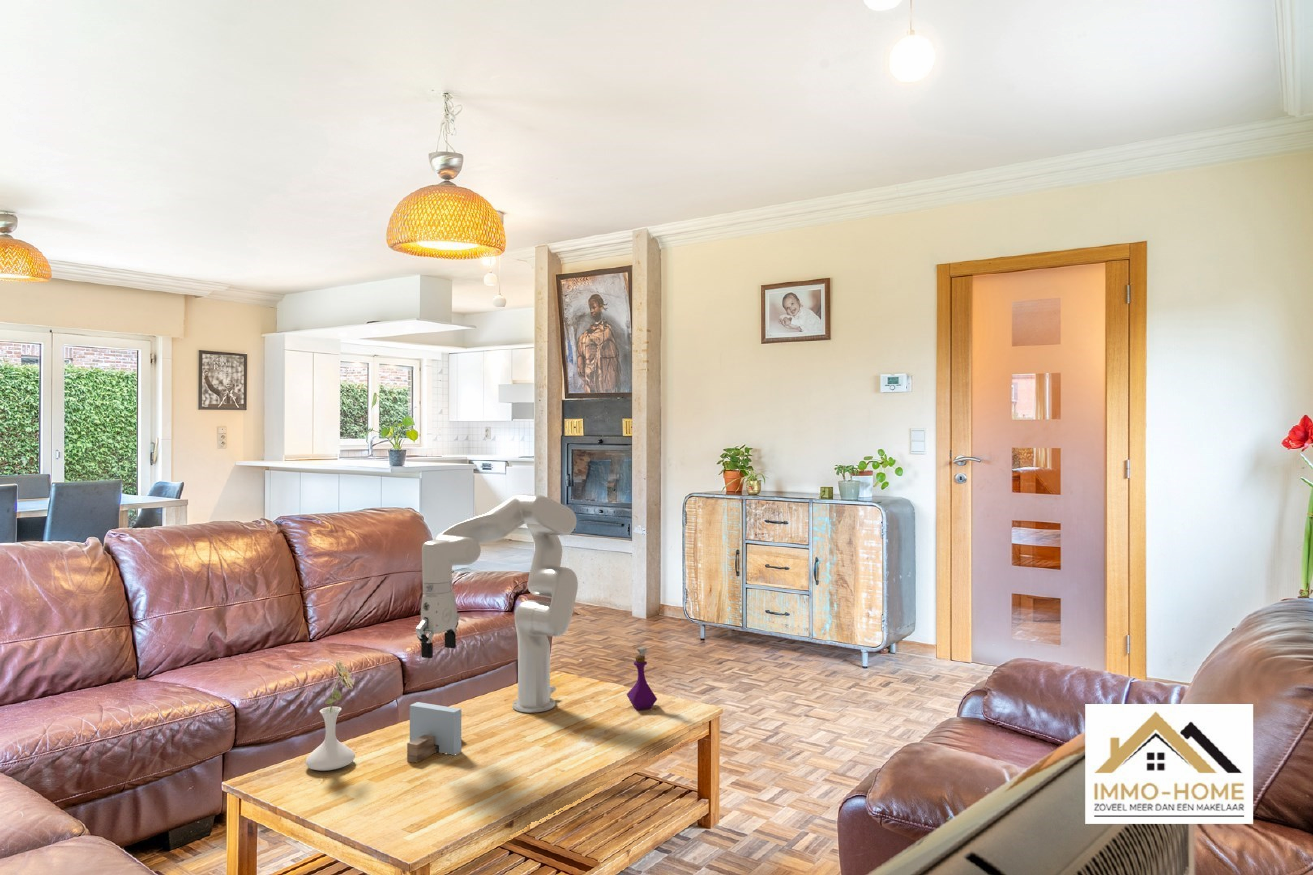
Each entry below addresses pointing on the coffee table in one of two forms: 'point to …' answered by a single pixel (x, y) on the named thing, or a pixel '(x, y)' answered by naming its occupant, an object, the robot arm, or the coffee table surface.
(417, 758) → the brown notched bar
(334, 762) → the flower in vase
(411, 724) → the blue grey notched plate
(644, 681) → the perfume bottle
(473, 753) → the coffee table surface
